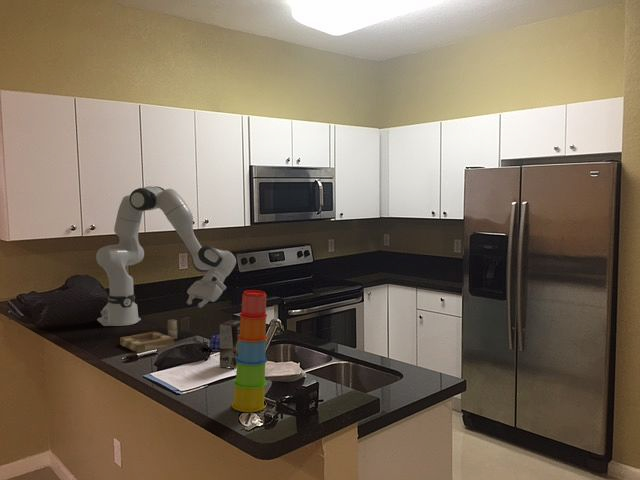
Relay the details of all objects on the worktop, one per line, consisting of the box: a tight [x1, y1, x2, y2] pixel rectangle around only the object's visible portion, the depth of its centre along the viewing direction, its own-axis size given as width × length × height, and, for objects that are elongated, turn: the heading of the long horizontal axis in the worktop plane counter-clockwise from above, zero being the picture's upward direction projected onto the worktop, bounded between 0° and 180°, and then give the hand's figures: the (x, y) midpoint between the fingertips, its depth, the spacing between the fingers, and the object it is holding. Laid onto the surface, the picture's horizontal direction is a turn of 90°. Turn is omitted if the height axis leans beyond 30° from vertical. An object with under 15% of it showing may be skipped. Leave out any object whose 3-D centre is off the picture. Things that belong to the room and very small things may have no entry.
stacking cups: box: [231, 289, 268, 413], centre depth 158 cm, size 10×10×35 cm
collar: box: [119, 330, 175, 354], centre depth 225 cm, size 16×16×3 cm
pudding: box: [207, 334, 220, 352], centre depth 221 cm, size 12×12×5 cm
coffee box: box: [219, 319, 241, 369], centre depth 198 cm, size 9×6×16 cm
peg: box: [167, 319, 178, 340], centre depth 235 cm, size 4×4×8 cm
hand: (193, 305), depth 242 cm, fingers open, 8 cm apart
